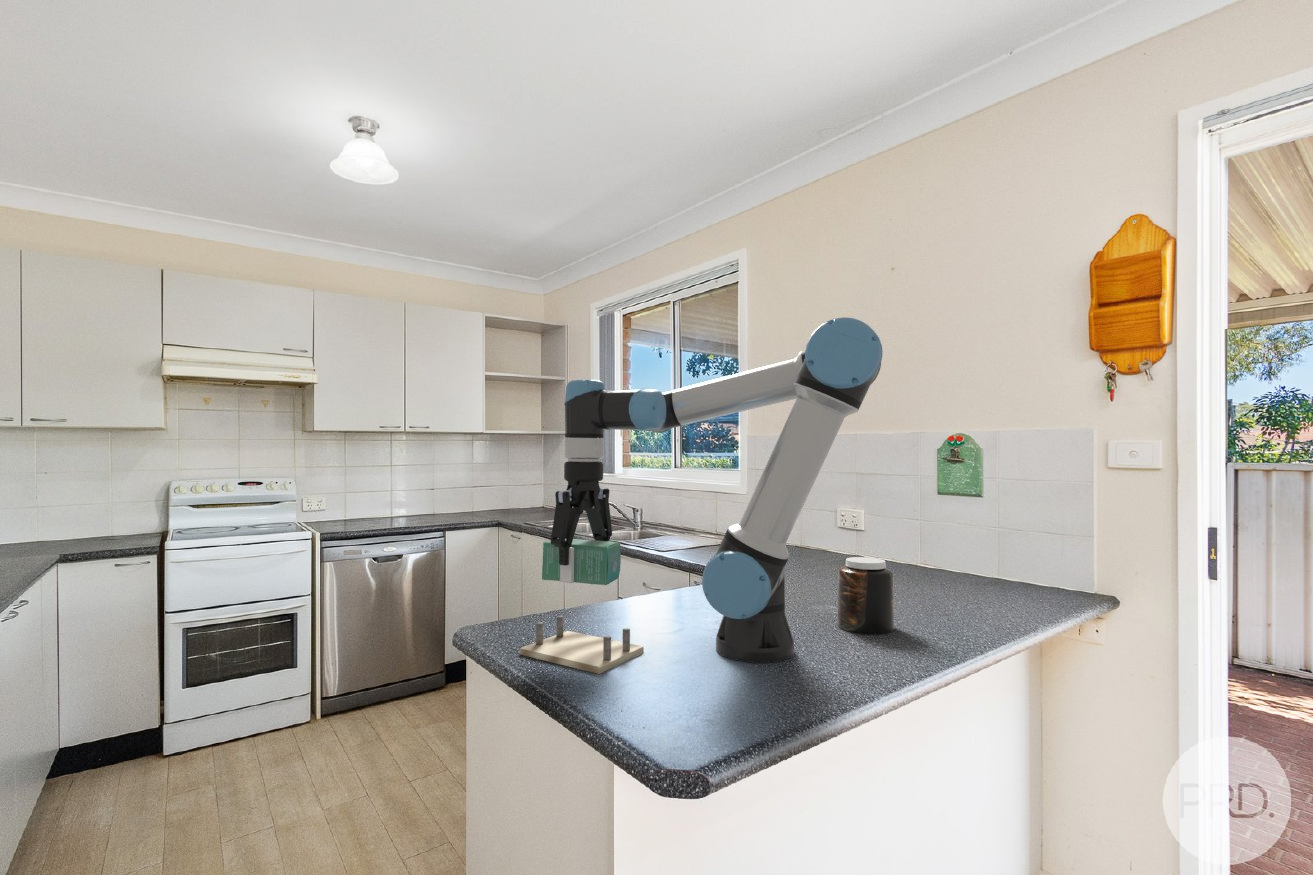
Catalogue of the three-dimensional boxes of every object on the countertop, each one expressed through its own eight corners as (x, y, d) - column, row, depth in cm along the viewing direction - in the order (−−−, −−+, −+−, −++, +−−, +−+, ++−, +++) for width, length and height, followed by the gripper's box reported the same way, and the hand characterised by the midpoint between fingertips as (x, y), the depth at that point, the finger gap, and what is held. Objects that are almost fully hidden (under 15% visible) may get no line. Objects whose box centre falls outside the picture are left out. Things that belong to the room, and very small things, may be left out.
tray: (643, 652, 123) (643, 625, 123) (599, 674, 111) (599, 644, 111) (567, 636, 133) (568, 611, 133) (519, 654, 121) (520, 627, 121)
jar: (875, 638, 133) (875, 566, 133) (827, 626, 142) (827, 559, 142) (903, 628, 141) (903, 560, 141) (856, 617, 150) (856, 553, 150)
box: (608, 586, 117) (608, 545, 117) (541, 581, 120) (541, 541, 121) (621, 578, 124) (621, 540, 124) (557, 574, 127) (558, 537, 128)
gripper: (601, 459, 133) (600, 567, 133) (530, 460, 115) (529, 585, 115) (631, 460, 129) (629, 571, 129) (562, 461, 111) (560, 590, 111)
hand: (582, 578), depth 122 cm, fingers closed on box, 8 cm apart
